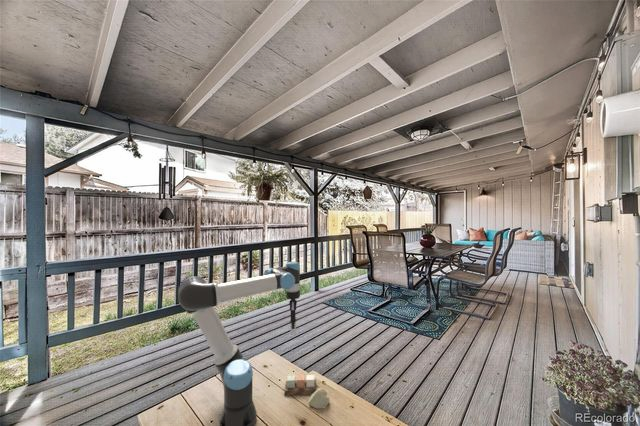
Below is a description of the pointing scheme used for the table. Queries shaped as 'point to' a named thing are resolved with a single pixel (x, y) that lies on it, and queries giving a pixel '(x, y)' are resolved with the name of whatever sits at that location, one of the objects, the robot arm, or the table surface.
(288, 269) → the robot arm
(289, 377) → the button sage
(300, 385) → the button terracotta
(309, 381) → the button cream
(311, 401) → the grey rounded lump
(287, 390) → the walnut board
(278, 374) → the table surface
